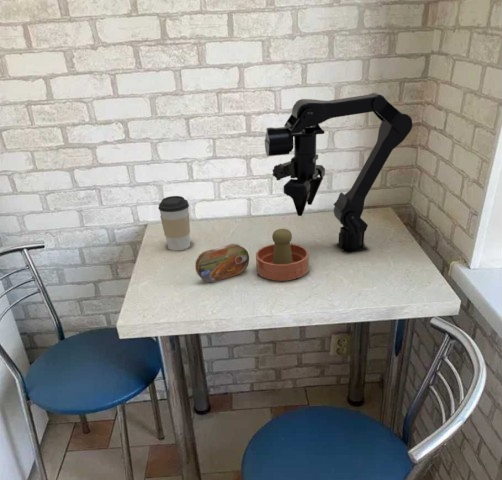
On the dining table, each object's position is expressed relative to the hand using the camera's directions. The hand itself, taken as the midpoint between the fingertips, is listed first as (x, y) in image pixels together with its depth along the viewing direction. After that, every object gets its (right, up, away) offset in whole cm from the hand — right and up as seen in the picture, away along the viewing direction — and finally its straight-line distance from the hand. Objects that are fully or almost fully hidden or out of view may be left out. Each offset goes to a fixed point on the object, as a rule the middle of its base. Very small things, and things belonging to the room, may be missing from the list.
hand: (304, 210), depth 147 cm
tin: (-22, -19, -3) cm, 30 cm away
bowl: (-6, -17, -2) cm, 18 cm away
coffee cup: (-37, -7, +16) cm, 41 cm away
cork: (-6, -17, -2) cm, 18 cm away
